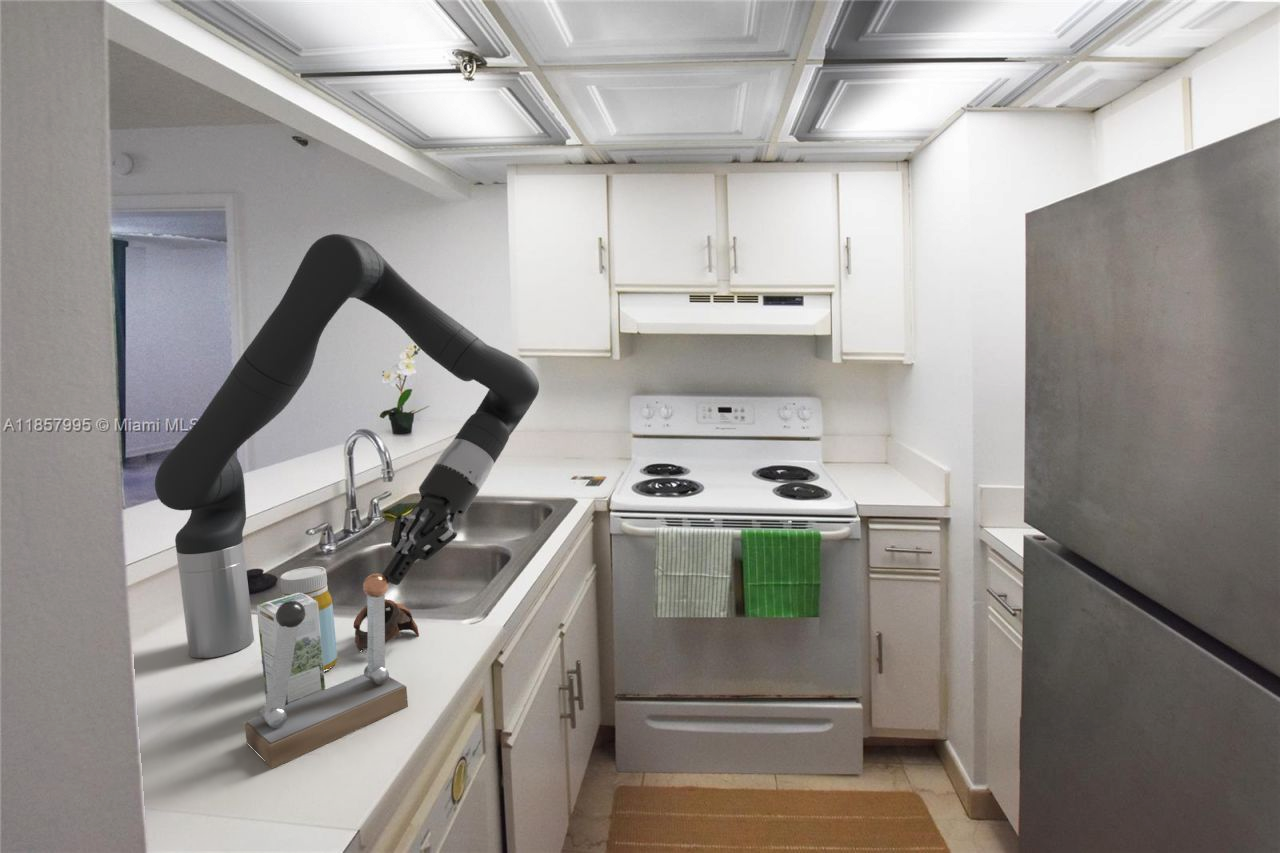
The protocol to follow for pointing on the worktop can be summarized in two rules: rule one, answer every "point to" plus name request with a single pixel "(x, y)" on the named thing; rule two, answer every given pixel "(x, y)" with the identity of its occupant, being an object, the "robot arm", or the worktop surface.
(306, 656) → the syrup box
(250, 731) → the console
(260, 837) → the worktop surface
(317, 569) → the bottle
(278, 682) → the lever black
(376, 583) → the lever terracotta
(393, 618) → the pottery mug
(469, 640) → the worktop surface
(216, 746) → the worktop surface
